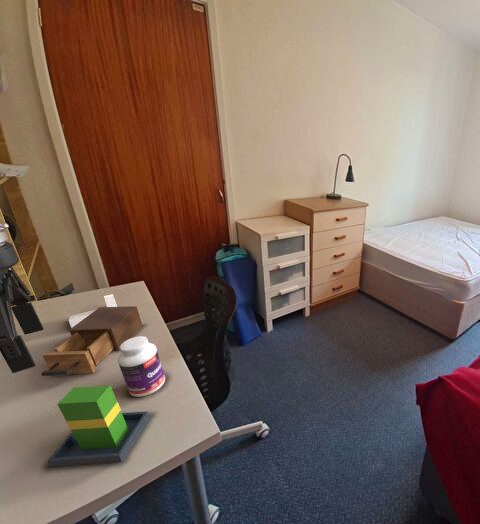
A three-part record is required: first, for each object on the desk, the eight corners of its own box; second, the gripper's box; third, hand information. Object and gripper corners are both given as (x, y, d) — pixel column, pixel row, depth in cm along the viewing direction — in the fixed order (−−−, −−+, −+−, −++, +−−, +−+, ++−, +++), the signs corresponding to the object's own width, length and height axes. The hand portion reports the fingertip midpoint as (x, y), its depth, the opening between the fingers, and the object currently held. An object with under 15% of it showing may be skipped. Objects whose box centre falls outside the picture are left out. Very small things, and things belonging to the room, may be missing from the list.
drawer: (81, 384, 74) (72, 364, 71) (37, 387, 73) (26, 366, 70) (120, 345, 88) (114, 327, 85) (84, 346, 87) (76, 328, 84)
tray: (51, 468, 56) (47, 461, 55) (89, 421, 65) (86, 414, 64) (122, 462, 57) (119, 455, 56) (150, 418, 67) (147, 411, 66)
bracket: (119, 312, 108) (112, 293, 106) (120, 315, 103) (113, 296, 101) (73, 325, 99) (65, 305, 98) (72, 330, 94) (64, 309, 93)
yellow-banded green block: (80, 450, 59) (56, 404, 54) (95, 431, 63) (73, 387, 57) (117, 447, 60) (96, 401, 54) (129, 429, 63) (111, 385, 58)
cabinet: (119, 351, 87) (111, 328, 84) (78, 353, 86) (68, 330, 82) (143, 327, 98) (136, 306, 95) (107, 328, 97) (99, 307, 94)
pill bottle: (157, 397, 72) (143, 352, 66) (123, 400, 71) (105, 355, 65) (171, 373, 79) (159, 331, 74) (139, 376, 78) (125, 334, 72)
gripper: (-6, 265, 40) (51, 377, 48) (22, 225, 57) (60, 313, 65) (-97, 279, 35) (-17, 400, 44) (-37, 231, 53) (12, 325, 61)
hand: (29, 348), depth 55 cm, fingers open, 13 cm apart
